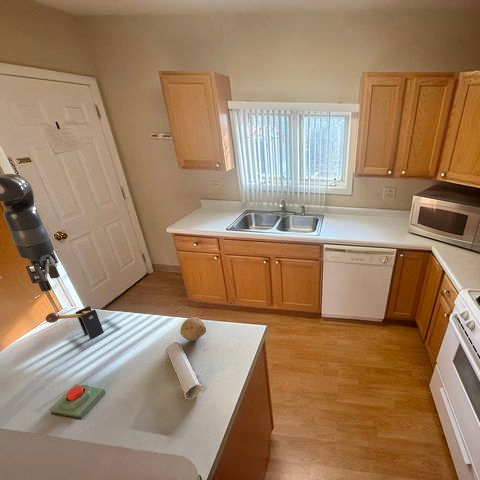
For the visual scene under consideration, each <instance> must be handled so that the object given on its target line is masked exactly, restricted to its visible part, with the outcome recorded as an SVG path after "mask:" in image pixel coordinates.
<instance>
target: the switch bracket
mask: <svg viewBox="0 0 480 480" xmlns="http://www.w3.org/2000/svg"><path fill="white" fill-rule="evenodd" d="M82 311H90V312H88V313H86V314H83V315H81V318H80V317H77V320H78V323H79V325H80V327H81V330H82V332H83V334H84V336H85V337H87V336H88V338H89V340H94V339H95V338H97V337H99V336H100V335H103V334H104V333H105V332H104V329H103V326H102V323H101V321H100V318H99V315H98V312H97V310H96V309H92V307H91V306H90V305H88V306H86V307H84V308H81V309H79V310H76V311H75V313H74V314H81V313H82Z"/></svg>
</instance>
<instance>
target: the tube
mask: <svg viewBox="0 0 480 480" xmlns="http://www.w3.org/2000/svg"><path fill="white" fill-rule="evenodd" d="M166 352H167V355H168V358H169V360H170V362H171V365H172V368H173V369H174V372H175V374H176V377H177V380H178V381H179V383H180V387H181V389H182V391H183V396H184V398H185V399H186V400H190V401H191V400H193V399H194V398H196V397H198V396H199V395H200V393H201V392H202V391H203V386H202V384H201V383H200V382H199V380H198V378H197V375H196V373H195V371H194V369H193V367H192V365H191V363H190V361H189V359H188V357H187V355H186V353H185V350H184V349H183V346H182V345H181V343H180V342H177V341H174V342H171V343H169V345H168V346H167V347H166Z"/></svg>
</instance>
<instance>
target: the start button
mask: <svg viewBox="0 0 480 480" xmlns="http://www.w3.org/2000/svg"><path fill="white" fill-rule="evenodd" d="M73 387H74V386H73ZM71 388H72V387H71ZM71 388H70V389H69V390H67V392H66V393H67V394H66V393H65V394H66V396H67V398H68V400H69V401H74V400H76V399H78V398H80V397H81V396H82V395H83V393H84V390H83V388H82V387H81V386H76V387H74V388H72V389H71Z"/></svg>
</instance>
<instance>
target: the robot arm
mask: <svg viewBox="0 0 480 480" xmlns="http://www.w3.org/2000/svg"><path fill="white" fill-rule="evenodd" d="M35 198H36V197H35V194H34V191H33V188H32V186H31V184H30V182H29V181H28V180H27V179H26V178H25V177H23V176H21V175H19V174H15V173H4V174H1V175H0V202H1V203H2V204H3V213H2V214H3V219H4V221H5V224H6V225H7V228H8V230H9V233H10V237H11V240H12V241H13V243H14V245H15V248H16V251H17V252H18V254H19V256H20V258H23V259H27V260H29V261H30V262H29V264H30V265H26V266H25V269H26V271H27V274H28V276H29V279H30V281H31V283H32V284H33V285H34V284H38V287H39V288H40V291H41V292H49V291H51V290H52V285H51V284H50V280H49V279H48V275H49V278H50V279H51V280H52V279H53V280H54V279H58V278H60V276H61V275H60V272H59V271H58V268H57V267H58V263H59V261H58V259H57V257H56V253H55V247H54V244H53V242H52V240H51V238H50V235H49V233H48V231H47V228H46V227H45V225H44V223H43V220H42V218H41V215H40V213H39V212H38V209H37V204H36V199H35Z"/></svg>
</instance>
